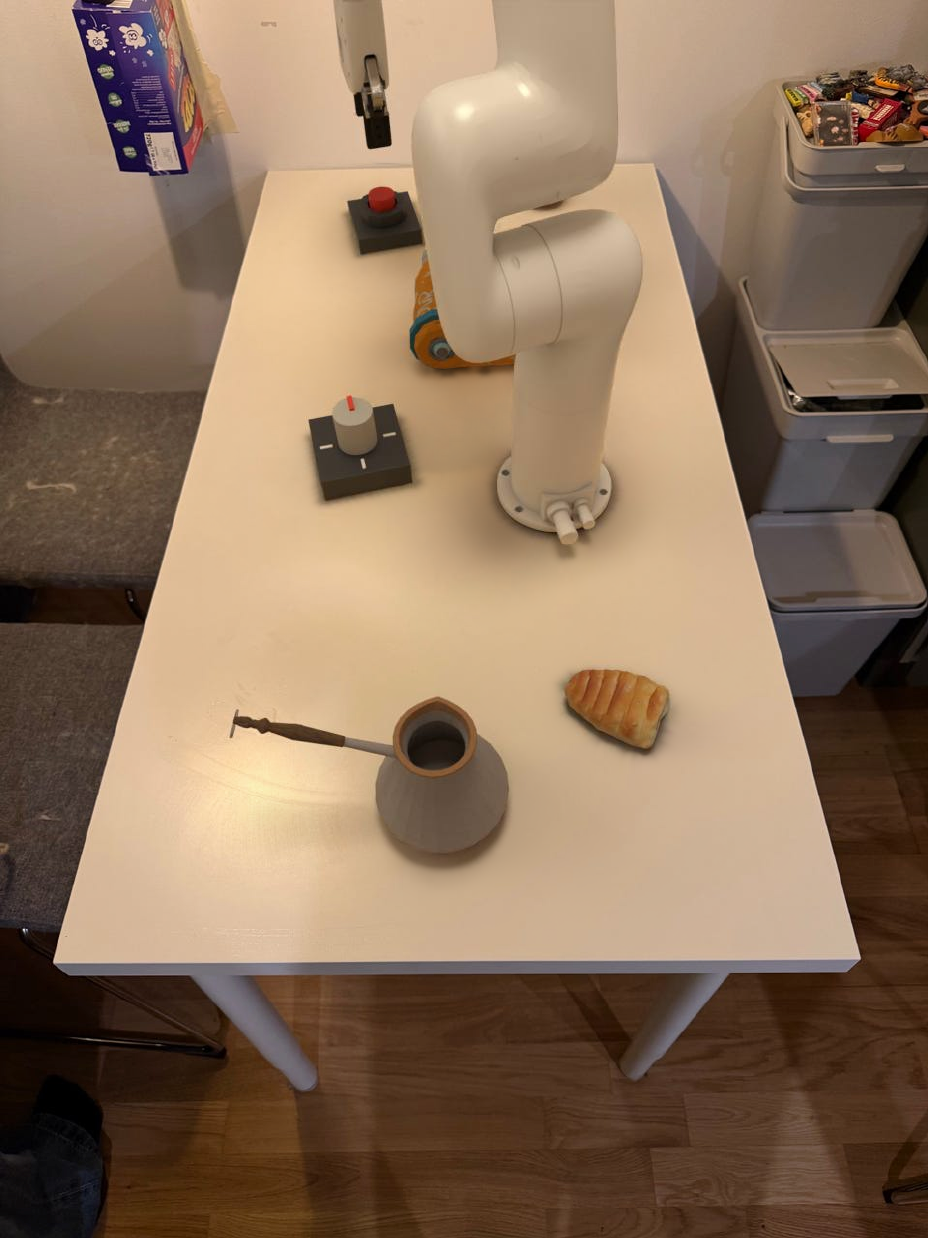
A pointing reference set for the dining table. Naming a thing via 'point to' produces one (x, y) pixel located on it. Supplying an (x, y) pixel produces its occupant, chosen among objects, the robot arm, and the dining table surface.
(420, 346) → the device
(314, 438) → the timer panel
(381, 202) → the power button
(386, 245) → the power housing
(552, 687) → the dining table surface
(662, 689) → the pastry
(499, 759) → the coffee pot
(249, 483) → the dining table surface
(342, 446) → the timer knob
